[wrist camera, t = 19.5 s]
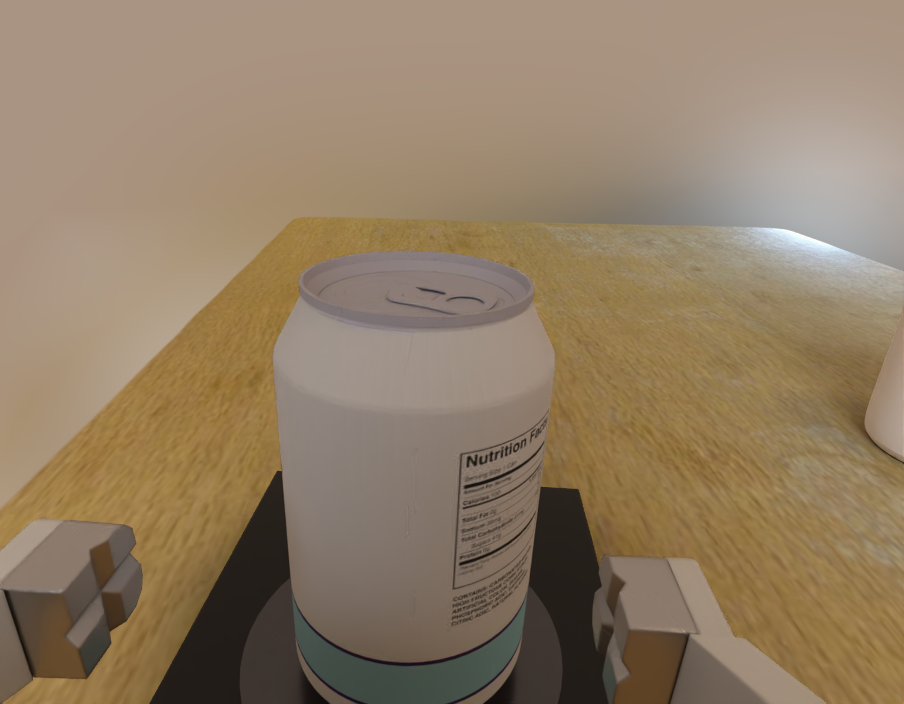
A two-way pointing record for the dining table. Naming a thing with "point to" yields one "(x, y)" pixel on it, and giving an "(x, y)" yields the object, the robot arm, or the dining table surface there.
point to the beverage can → (411, 472)
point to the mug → (889, 399)
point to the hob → (273, 630)
